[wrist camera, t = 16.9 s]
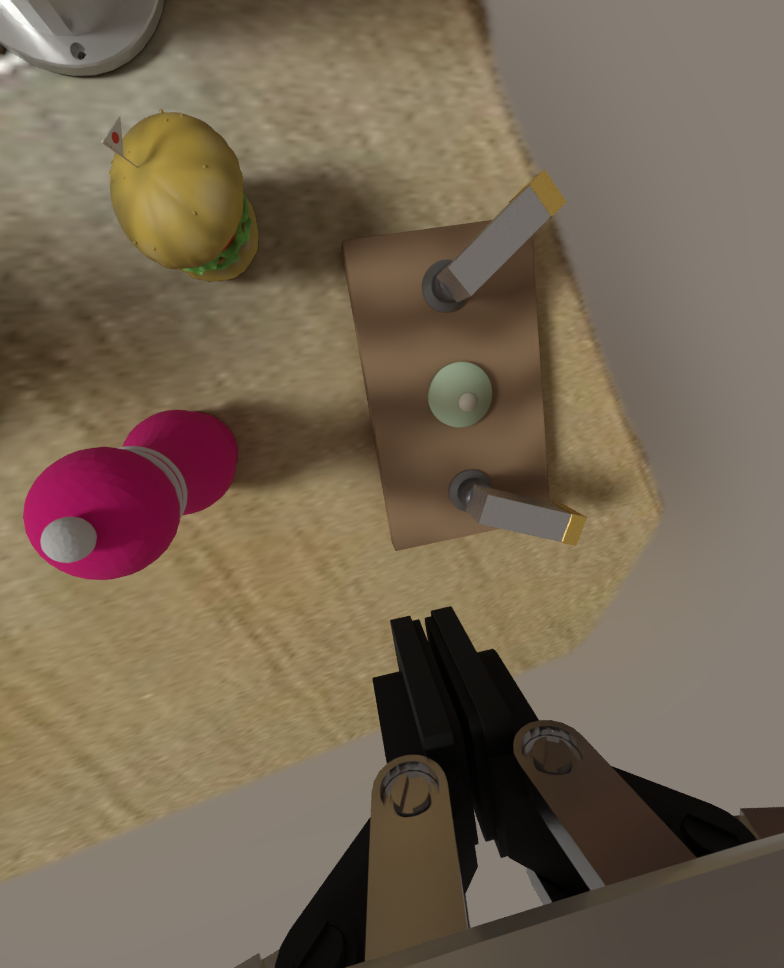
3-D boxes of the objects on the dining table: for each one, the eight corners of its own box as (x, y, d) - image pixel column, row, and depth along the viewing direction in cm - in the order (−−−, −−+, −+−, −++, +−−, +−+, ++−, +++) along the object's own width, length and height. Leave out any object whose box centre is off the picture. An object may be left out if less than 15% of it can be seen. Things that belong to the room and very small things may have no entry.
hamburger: (248, 306, 34) (211, 275, 22) (146, 270, 32) (50, 216, 21) (275, 198, 32) (251, 105, 21) (170, 154, 31) (81, 28, 19)
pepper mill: (262, 443, 36) (200, 527, 17) (210, 512, 37) (95, 666, 18) (182, 385, 34) (11, 409, 15) (129, 459, 35) (-99, 570, 16)
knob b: (453, 502, 37) (475, 524, 32) (462, 474, 37) (486, 492, 32) (541, 522, 39) (576, 546, 34) (550, 496, 39) (587, 516, 33)
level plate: (341, 247, 34) (343, 236, 31) (518, 223, 35) (536, 210, 32) (391, 542, 40) (397, 555, 37) (539, 510, 42) (556, 521, 39)
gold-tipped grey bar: (446, 310, 34) (470, 299, 28) (424, 284, 33) (445, 268, 28) (527, 229, 33) (566, 202, 28) (507, 201, 32) (543, 168, 27)
